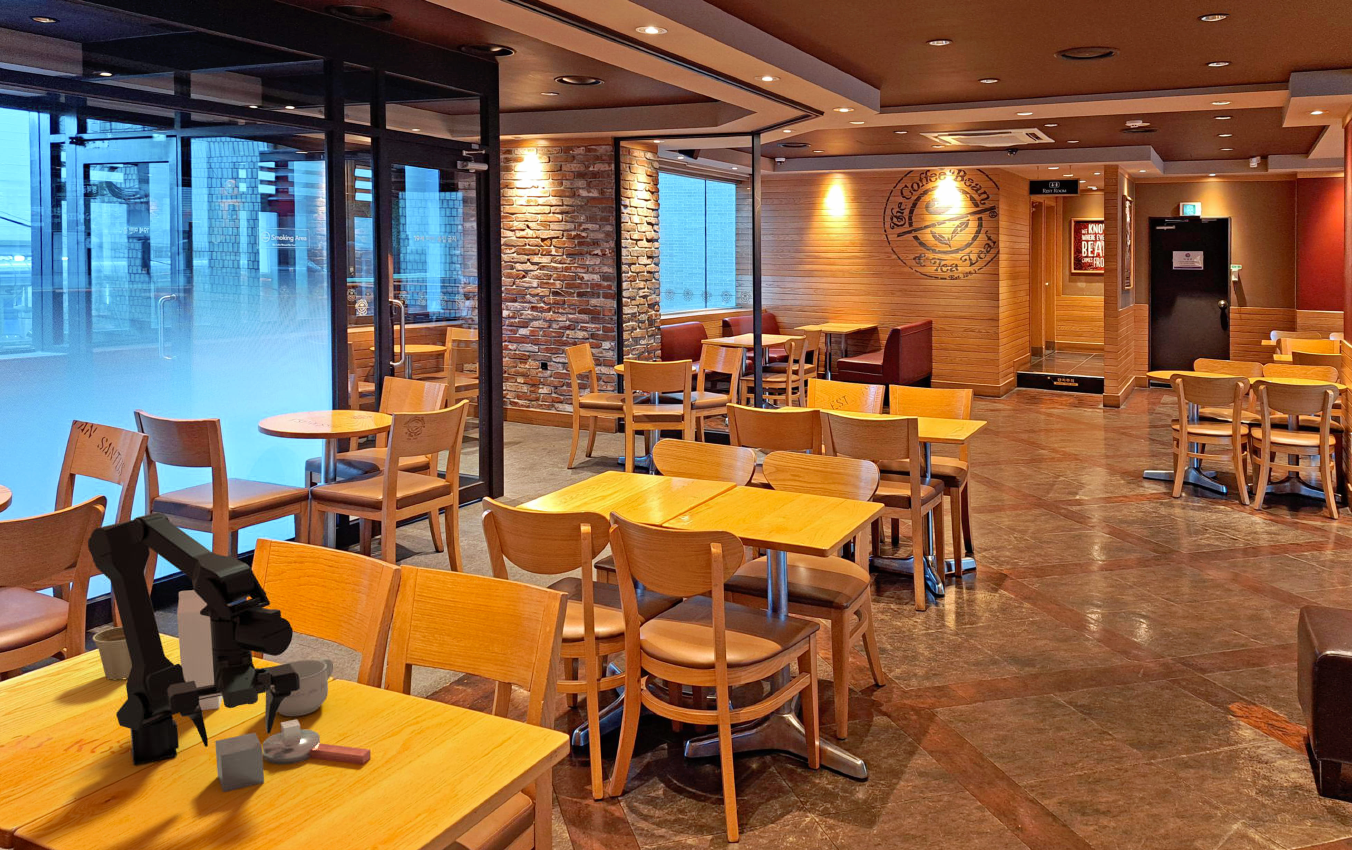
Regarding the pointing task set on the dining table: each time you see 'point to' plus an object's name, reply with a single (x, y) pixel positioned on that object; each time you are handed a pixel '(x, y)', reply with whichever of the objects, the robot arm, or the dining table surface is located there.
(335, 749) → the pan with red handle
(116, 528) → the robot arm
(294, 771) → the dining table surface
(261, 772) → the matte grey cube
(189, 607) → the milk
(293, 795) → the dining table surface
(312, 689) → the teacup
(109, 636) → the flower pot
